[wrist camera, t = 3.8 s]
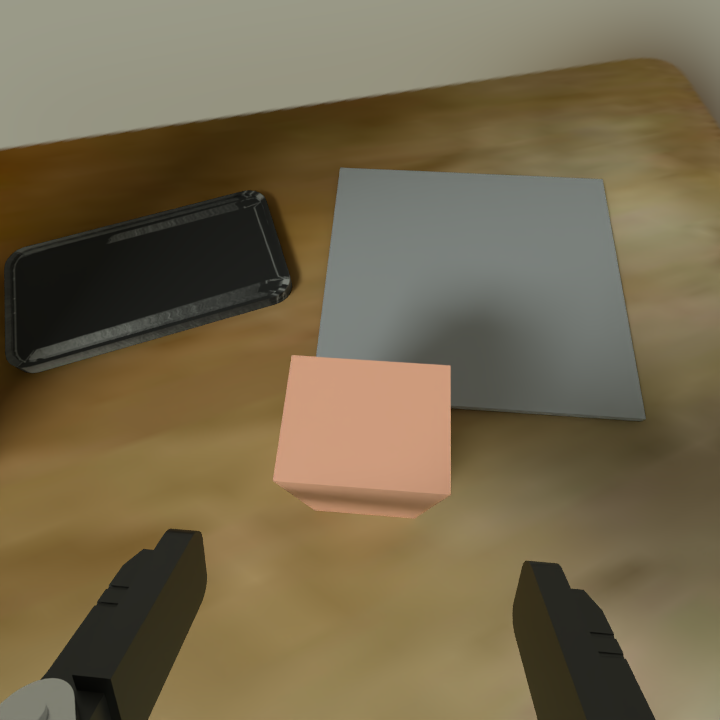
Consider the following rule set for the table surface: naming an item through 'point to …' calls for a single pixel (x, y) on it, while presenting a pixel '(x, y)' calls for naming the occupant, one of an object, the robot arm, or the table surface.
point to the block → (366, 436)
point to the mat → (484, 288)
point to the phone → (141, 280)
